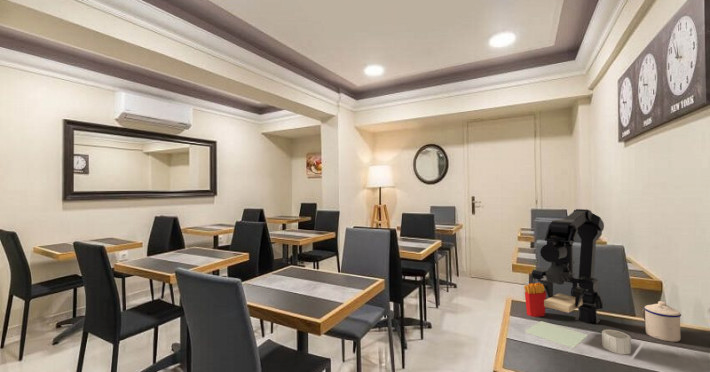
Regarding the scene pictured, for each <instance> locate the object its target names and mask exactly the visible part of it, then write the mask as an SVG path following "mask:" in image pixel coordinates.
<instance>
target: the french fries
mask: <svg viewBox="0 0 710 372" xmlns="http://www.w3.org/2000/svg"><path fill="white" fill-rule="evenodd" d="M523 287H524V297H525V308H526V315H527V316H529V317H534V318H538V317H543V316H545V315H546V307H544V300H546V299H547V292H546V290H545V287H544V285H543V284H542V283H541V282H534V283H533V282H531V283H528V284H526V285H524V286H523Z"/></svg>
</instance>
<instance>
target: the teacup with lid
mask: <svg viewBox="0 0 710 372" xmlns="http://www.w3.org/2000/svg"><path fill="white" fill-rule="evenodd" d="M641 316H642V318H643V320H644V322H645V324H644V325H645V333H646V335H648V336H650V337H651V338H655V339H657V340H660V341H665V342H672V343H676V342H679V341H681V316H682V313H681V312H680V311H679V310H677V309H675V308H673V307H671V306H669V305H667V303H666V302H665V301H661V300H659V301H658V302H657V303H653V304H647V305H644V307H643V308H642V310H641Z"/></svg>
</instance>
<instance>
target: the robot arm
mask: <svg viewBox="0 0 710 372" xmlns="http://www.w3.org/2000/svg"><path fill="white" fill-rule="evenodd" d="M604 228H605V223H604V221H603V219H602V218H601V216H599V215H596V214H595V213H593V211H592V210H591V209H587V208H586V209H582V208H581V209H580V208H577V209H574V210H573V211H572V212H571V213H570V214H569V215H567V216H566V217H565V218H562V219H554V220H552V221H551V222H550V223H549V224H548V227H547V230H546V233H545V237H544V241H545V242H546V244H545V245H543V246H542V247H541V249H540V252H539V253H540V256H541V258H542V259H543V260H544V261H545V262H548V263H551V265H550V267H548V269H545V268H540V267H538V268H535V269H533V270H532V271H531V274H530V277H531V278H532V279H535V280H537V283H541V284H543V285H544V287H545V288H544V290H545V291H546V295H547V297H548V298H550V297H552V296H554V284H557V285H559V286H560V285H563V284H565V283H569V284H570V283H571V284H572V287H571V288H570V296H573V297H575V307H578V305H579V303H580V301H581V299H583V305H581V306H579V307H578V308H577V311H578V312H577V313H578V314H577V317H575V318H574V319H575V320H576V321H579V322H582V323H586V324H591V325H597V324H599V323H600V322H601V320H600V319H598V316H597V312H598V311H597V310H600V309H601V310H602V309H604V300H603V298H602V295H601V294H600V292H599V287H600V286H599V285H600V283H599V280H598V279H597V278H595V265H596V264H595V261H596V244H597V241H598V240H599V239H600V238H601V236H602V234H603V231H604ZM577 235H578V237H579V238H580V251H579V252H580V254H579V266H578V268H579V269H578V277H575V273H574V265H575V260H574V252H573V251H574V250H573V249H574V248H573V247H574V246H573V244H574V243H575V241H576V238H577Z"/></svg>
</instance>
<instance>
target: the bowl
mask: <svg viewBox="0 0 710 372" xmlns="http://www.w3.org/2000/svg"><path fill="white" fill-rule="evenodd" d="M601 344H602V347H603V349H605V350H607V351H609V352H612V353H615V354H620V355H630V354H632V337H631V335H629V334H627V333H625V332H622V331H620V330H616V329H603V330H602V331H601Z"/></svg>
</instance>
